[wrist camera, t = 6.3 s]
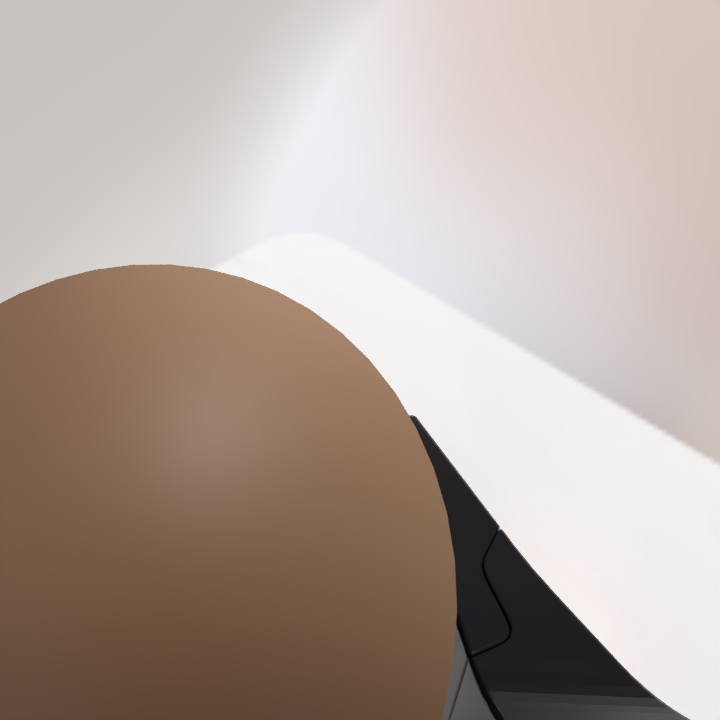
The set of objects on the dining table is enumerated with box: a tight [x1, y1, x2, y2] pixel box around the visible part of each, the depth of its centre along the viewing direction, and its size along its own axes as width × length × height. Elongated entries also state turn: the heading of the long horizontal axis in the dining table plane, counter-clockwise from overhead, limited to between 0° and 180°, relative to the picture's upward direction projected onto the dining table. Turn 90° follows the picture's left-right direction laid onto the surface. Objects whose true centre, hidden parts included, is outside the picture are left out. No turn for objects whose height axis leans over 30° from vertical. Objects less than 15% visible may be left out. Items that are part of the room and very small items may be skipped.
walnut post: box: [0, 265, 457, 720], centre depth 9 cm, size 5×5×13 cm
